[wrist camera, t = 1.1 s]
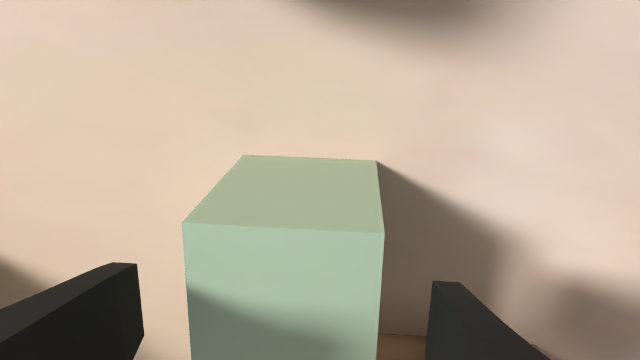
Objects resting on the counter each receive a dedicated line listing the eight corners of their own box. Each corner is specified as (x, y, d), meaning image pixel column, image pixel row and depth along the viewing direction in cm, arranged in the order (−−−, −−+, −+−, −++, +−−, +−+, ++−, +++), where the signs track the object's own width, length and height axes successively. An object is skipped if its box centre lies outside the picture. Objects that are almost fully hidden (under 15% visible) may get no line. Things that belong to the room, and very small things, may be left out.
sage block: (376, 160, 16) (385, 233, 10) (368, 279, 17) (372, 401, 12) (243, 154, 16) (181, 222, 11) (246, 271, 18) (193, 387, 12)
